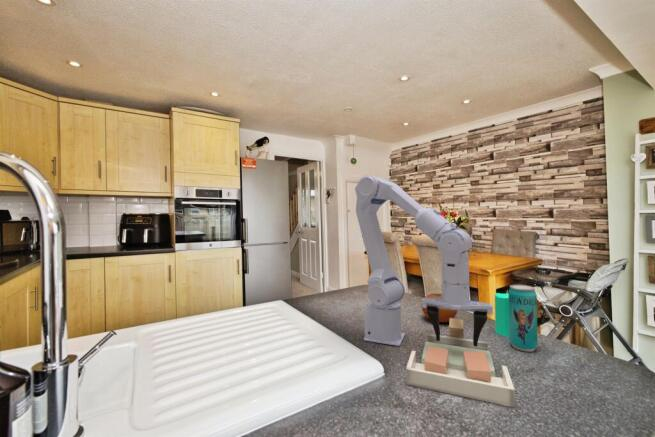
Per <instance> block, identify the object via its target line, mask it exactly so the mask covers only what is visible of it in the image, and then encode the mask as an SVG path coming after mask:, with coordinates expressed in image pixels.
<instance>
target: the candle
mask: <svg viewBox="0 0 655 437" xmlns="http://www.w3.org/2000/svg"><path fill="white" fill-rule="evenodd" d="M494 320H495V321H494V326H495V334H498V335H499V336H503V337H506V338H509V292H507V293H499V292H497V293H495V294H494Z"/></svg>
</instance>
